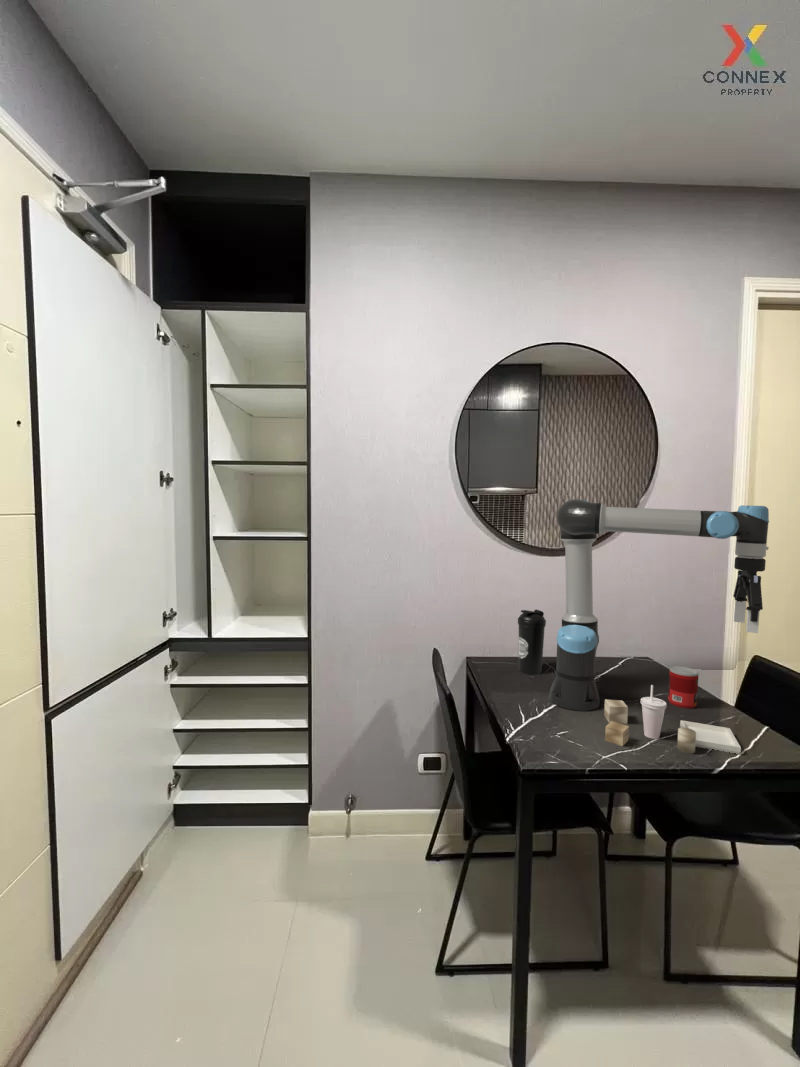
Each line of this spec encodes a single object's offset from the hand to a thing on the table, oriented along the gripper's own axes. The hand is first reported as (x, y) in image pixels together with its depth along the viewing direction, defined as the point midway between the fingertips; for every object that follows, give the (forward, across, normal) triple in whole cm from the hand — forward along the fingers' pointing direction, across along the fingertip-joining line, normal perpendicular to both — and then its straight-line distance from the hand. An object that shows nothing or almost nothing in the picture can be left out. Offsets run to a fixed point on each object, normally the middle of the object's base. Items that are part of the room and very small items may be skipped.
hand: (745, 627), depth 148 cm
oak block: (+27, -34, +36) cm, 56 cm away
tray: (+27, -23, +12) cm, 38 cm away
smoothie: (+27, -27, +26) cm, 47 cm away
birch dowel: (+27, -32, +19) cm, 46 cm away
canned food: (+27, +2, +15) cm, 31 cm away
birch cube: (+27, -20, +35) cm, 49 cm away
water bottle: (+28, +13, +64) cm, 71 cm away
